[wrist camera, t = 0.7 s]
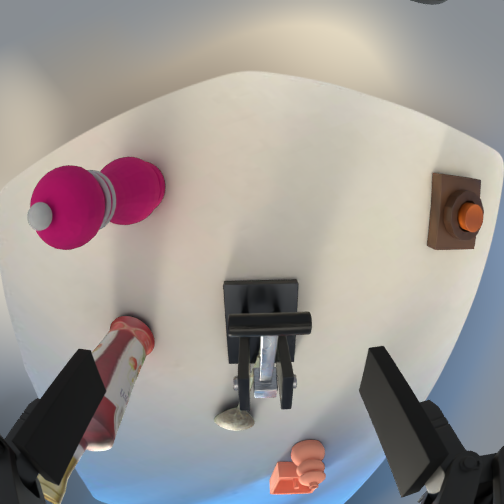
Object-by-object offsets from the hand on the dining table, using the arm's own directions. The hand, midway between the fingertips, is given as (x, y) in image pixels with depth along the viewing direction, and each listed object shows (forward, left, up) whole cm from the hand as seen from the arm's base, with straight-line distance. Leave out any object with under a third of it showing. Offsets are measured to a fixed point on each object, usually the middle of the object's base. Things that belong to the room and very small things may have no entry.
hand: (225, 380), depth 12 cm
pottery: (+47, +10, -24) cm, 53 cm away
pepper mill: (-7, -12, -24) cm, 27 cm away
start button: (-4, +29, -20) cm, 36 cm away
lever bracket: (+11, +2, -24) cm, 26 cm away
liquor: (+13, -16, -24) cm, 31 cm away
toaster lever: (+5, +2, -10) cm, 11 cm away
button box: (-4, +29, -24) cm, 38 cm away
